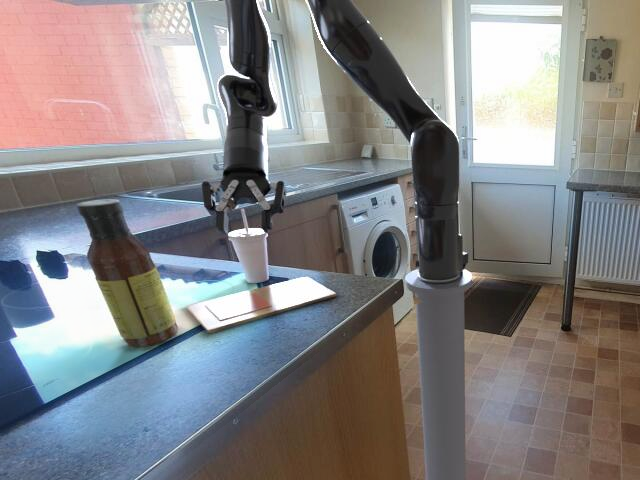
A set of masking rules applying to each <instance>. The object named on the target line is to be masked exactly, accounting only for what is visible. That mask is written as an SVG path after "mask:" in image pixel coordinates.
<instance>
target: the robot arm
mask: <svg viewBox="0 0 640 480" xmlns="http://www.w3.org/2000/svg"><path fill="white" fill-rule="evenodd" d="M305 2H306V4H307V7H308V9H309V11H310V15H311V17H312V21H313V24H314V27H315V30H316V32H317V35H318V38H319V40H320V41H321V44H322V45H323V48H324V49H325V50H326V52H327V53H328V54H329V56H330V57H331V58H332V59H333V60H334V61H335V63H336V64H337V65H338V67H340V69H341V70H342V71H343V72H344V74H346V76H347V77H348V78H349V79H350V81H352V82H353V83H354V84H355V85H356V86H357V87H358V88H359V89H360V90H361V91H362V92H363V93H364V94H365V95H366V97H368V98H369V99H370V100H372V101H373V103H375V104H376V105H377V106H378V107H379V108H381V110H382V111H384V113H386V114H387V115H388V116H389V119H391V120H392V121H393V123H394V124H395V125H396V127H397V128H398V129H399V130H400V132H401V133H402V135H403V136H404V138H405V140H406V141H407V142H408V144H409V145H410V153H411V154H410V156H411V173H412V187H413V188H412V189H413V196H414V197H413V200H414V216H415V232H416V235H415V236H416V251H417V253H416V254H417V260H416V261H415V262H414V263H415V269H418V278H419V280H421V281H422V282H425V283H429V284H446V283H451V282H454V281H456V280H458V279H459V278H460V276H463V270H464V269H465V268H466V266H467V264H468V263H469V253H468V252H465V251H464V242H463V241H464V240H463V239H464V237H463V236H462V235H463V234H460V208H459V207H460V206H459V205H460V202H459V199H460V196H459V195H460V143H459V139H458V136H457V134H456V132H455V130H454V129H453V128H452V127H451V126H450V125H448V124H447V123H446V122H445V121H444V120H442V118H440V117H439V116H438V114H437V113H436V112H435V111H434V110H433V109H432V108H431V107H430V106H429V105H428V104H427V102H426V101H424V99H423V98H422V97H421V96H420V94H419V93H418V91H416V89H415V87H414V85H413V84H412V83H411V81H410V80H409V78H408V76H407V74H406V73H405V71H404V69H403V67H402V66H401V65H400V63H399V61H398V59H397V58H396V57H395V55H394V54H393V52H392V51H391V49H390V47H389V46H388V45H387V43H386V42H385V40H383V38H382V37H381V36H380V34H379V32H378V31H377V30H376V29H375V28H374V26H373V25H372V23H370V21H369V20H368V18H366V16H365V15H364V14H363V13H362V11H361V10H360V9H359V8H358V6H357V5H356V4H355V3H354V2H353V0H305ZM224 3H225V11H226V21H227V58H228V63H229V66H230V67H231V69H233V71H235V72H237V73H238V74H240V75H238V74H234V73H226V74H224V75H222V76H220V78H219V79H218V82H217V92H218V93H217V94H218V97H219V100H220V103H221V105H222V108H223V110H224V113H225V117H226V135H225V141H224V144H223V164H222V179H221V180H220V181H219V182H218V183H210V182H209V181H207V180H205V181H202V183H201V188H202V189H201V191H202V198H203V207H204V209H205V210H206V212H207V213H208V214H209V215H210V216H215V227H216V229H217V231H219V232H220V233H221V234H222V235H228V234H229V220H230V219H229V215H230V214H231V212H232V211H234V210H235V209H237V206H238V205H246V204H250V205H257V203H258V205H259V206H260V208H261V209H262V210H261V229H263V231H264V233H267V234H268V233H270V231H272V229H273V227H274V226H273V225H274V224H273V216H274V215H275V214H279V215H280V214H281V215H282V214H283V213H284V212H285V206H286V205H285V204H286V200H287V192H288V191H287V190H288V189H287V187H286V185H285V182H284V181H283V180H279V181H277V183H275V182H270V181H269V180H270V172H269V171H270V170H269V169H270V167H269V166H270V165H269V164H270V154H269V152H270V151H269V146H268V145H269V144H268V123H267V121H266V118H269V117H271V116H273V115H274V114H275V113H276V111H277V108H278V98H277V94H276V90H275V87H274V84H273V80H272V74H271V56H272V35H271V34H272V33H271V29H270V26H269V23H268V20H267V18H266V16H265V13H264V12H263V10H262V7H261V5H260V2H259V0H224ZM271 190H272V192H273V194H274V198H273V203H271V204H269V203H268V201H267V199H266V198H265V197H266V196H267V195H268V194H269V193H270V192H271ZM220 191H222V192H223V194H222V195H221V196H220V201H219V202H218V204H217V202H216V197H218V195H219V192H220Z"/></svg>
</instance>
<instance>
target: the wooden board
mask: <svg viewBox="0 0 640 480" xmlns="http://www.w3.org/2000/svg"><path fill="white" fill-rule="evenodd" d="M335 297H338V296H337V292H335V291H333V290H331V289H329V288H328V287H326V286H324V285H323V284H321V283H319V282H318V281H316V280H314V279H312V278H311V277H309V276H303V277H299V278H294V279H290V280H287V281H281V282H278V283H273V284H269V285H266V286H261V287H256V288H254V289H249V290H244V291H241V292H238V293H233V294H229V295H225V296H219V297H217V298H212V299H208V300H204V301H201V302H200V301H199V302H196V303H192V304H187V305H185V307H186V310H187V311H188V312H189V313H190V314H191V316H193V317H194V319H195V320H196V321H197V322H198V323H199V325H201V327H202V329H204V330H205V331H206V333H208V334H212V333H215V332H219V331H223V330H227V329H230V328H233V327H237V326H240V325H243V324H246V323H251V322H253V321H257V320H260V319H264V318H267V317H270V316H274V315H277V314H281V313H284V312H288V311H291V310H294V309H298V308H301V307H304V306H308V305H311V304H315V303H319V302H323V301H325V300H329V299H332V298H335Z"/></svg>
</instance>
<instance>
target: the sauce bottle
mask: <svg viewBox="0 0 640 480" xmlns="http://www.w3.org/2000/svg"><path fill="white" fill-rule="evenodd" d="M76 208H77V211H78V215H80V217H82V218H83V220H84V222H85V225H86V228H87V229H88V233H89V237H90V239H91V242H90V245H89V247H88V249H87V253H86V254H87V255H86V258H87V261H88V262H89V265H90V268H91V269H92V271H93V272H92V273H94V276H95V277H94V278H95V281H96V283H97V285H98V288H99V289H100V292H101V295H102V297H103V298H104V301H105V303H106V306H107V307H108V310H109V313H110V314H111V317H112V319H113V322H114V324H115V326H116V328H117V331H118V333H119V335H120V338H122V339H123V341H124V343H125V344H127V345H128V346H129V347H134V348H141V347H147V346H148V347H149V346H151V347H152V346H155V345H158V344H161V343H164V342H167V341H169V340H171V339H172V338H173V337H175V336H176V335H177V333H179V331H178V330H179V326H178V324H177V319H176V316H175V314H174V310H173V308H172V305H171V303H170V300H169V298H168V294H167V292H166V290H165V287H164V284H163V282H162V281H163V280H162V279H161V276H160V274H159V271H158V268H157V266H156V263H155V262H154V261H153V259H152V256H151V253H150V250H149V248H148V247H147V246H146V245H145V244H143V243H142V242H141V241H140V240H139V239H138V238H137V237H136V236H135V235H134V234H133V233H132V232H131V228H129V227H128V223H127V221H126V218H125V215H124V208H123V205H122V203H121V201H120V200H119V199H112V198H111V199H95V200H86V201H82V202H79V203H77V204H76Z"/></svg>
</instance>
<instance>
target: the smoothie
mask: <svg viewBox="0 0 640 480" xmlns="http://www.w3.org/2000/svg"><path fill="white" fill-rule="evenodd" d="M240 212H241V217H242V222H243V227H244V228H241V229H235V230H233V231H230V232H228V234H227V236H228V237H227V238H228V241H230V242H231V245H232V246H233V250H234V251H235V254H236V257H237V259H238V261H239V264H240V267H241V269H242V272H243V274H244V277H245V279H246V281H247V283H249V284H261V283H264V282H266V281H269V279H270V276H269V275H270V274H269V260H268V242H267V241H268V240H267V237H268V236H269V235H268V233H264V231H263V229H262V228H259V227H251V228H249V225H248V221H247V216H246V211H245V208H240Z"/></svg>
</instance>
